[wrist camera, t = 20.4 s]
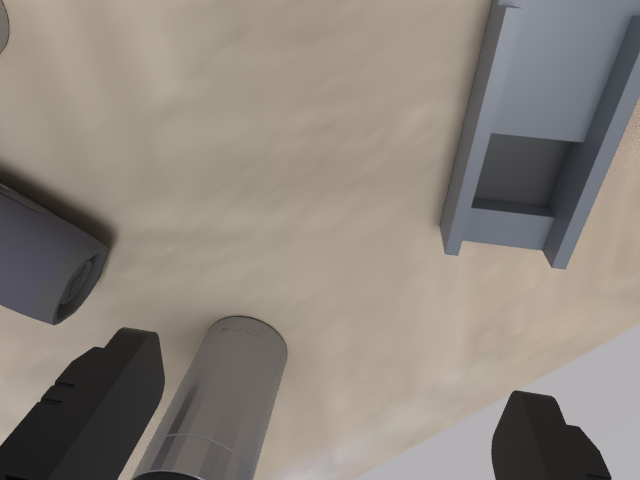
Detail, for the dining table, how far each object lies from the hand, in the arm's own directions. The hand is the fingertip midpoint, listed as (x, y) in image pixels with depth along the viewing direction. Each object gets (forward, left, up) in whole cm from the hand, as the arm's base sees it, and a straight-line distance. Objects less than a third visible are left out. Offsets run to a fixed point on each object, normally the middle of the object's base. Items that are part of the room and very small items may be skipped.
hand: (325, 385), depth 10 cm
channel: (+3, -12, -28) cm, 30 cm away
